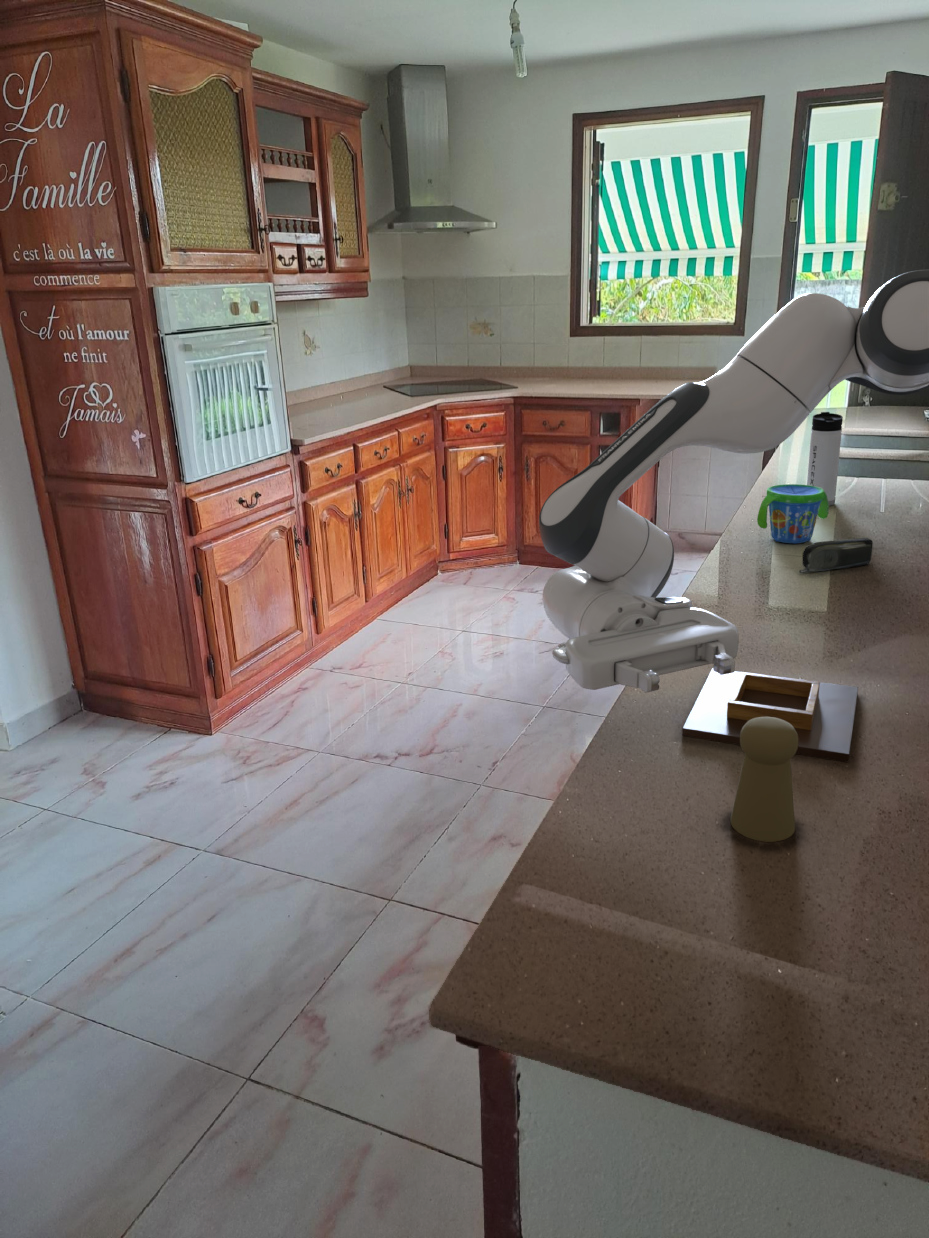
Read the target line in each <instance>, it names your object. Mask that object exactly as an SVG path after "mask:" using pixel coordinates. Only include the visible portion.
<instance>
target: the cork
mask: <svg viewBox="0 0 929 1238" xmlns="http://www.w3.org/2000/svg"><path fill="white" fill-rule="evenodd" d="M740 744H741V745H740V748H741V750H742V752H743V753H744V757H743V761H742V764H741V770H740V775H739V777H738V783H737V788H736V793H735V796H734V801H733V806H732V810H731V815H730V821H729V822H730V824H731V826H732V828H733V829H734V830H735V831H736V832H737V833H738V834H740V835H742V836H743V837H745V838H747V839H751V840H754V841H759V842H764V843H765V842H766V843H769V842H770V843H772V842H775V843H776V842H780V841H784V840H785V841H786V840H787V839H789V838H791V837H792V836H793V834H794V833H795V832H796V819H795V803H794V791H793V790H794V789H793V774H792V762H791V761H792V759H793V757H794V756H795V755H796V754H795V753H796V751H797V748H798V735H797V732H796V731H795V729H794V727H793V726H792V725H791V724H790V723H788V722H786V721H784V720H782V719H779V718H775V717H757V718H753V719H751V720H749V721H748V722H747V723H746V724H745V725H744V726H743V727H742V730H741V734H740Z"/></svg>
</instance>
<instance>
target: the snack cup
mask: <svg viewBox="0 0 929 1238" xmlns="http://www.w3.org/2000/svg"><path fill="white" fill-rule="evenodd" d="M820 503H821V504H820ZM819 505H820V506H819ZM829 508H830V506H828V499H827V495H826V493H825V492H824V490H823V489H822V488H819V487H815V486H810V485H807V484H796V483H795V484H794V483H792V484H791V483H787V484H776V485H772V486H769V487H768V488H766V495H765V497H764V498H763V499H762V501H761V504H760V506H759V510H758V513H757V519H756V520H757V521H756V522H757V525H758V526H759V528H761V529H764V530H766V529H767V528H768V521H767V520H768V514H769V527H770V535H771V538H772V539H773V540H774V541H775V542H778V543H783V544H794V545H797V544H804V543H806V542H811V540H812V537H813V535H814V531H815V527H816V524H817V519H818V518H819V519H821V520H825V519H827V518H828V516H829V510H830V509H829ZM768 512H769V513H768Z"/></svg>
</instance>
